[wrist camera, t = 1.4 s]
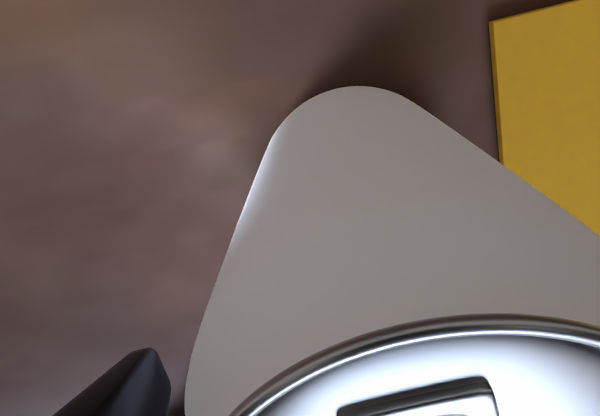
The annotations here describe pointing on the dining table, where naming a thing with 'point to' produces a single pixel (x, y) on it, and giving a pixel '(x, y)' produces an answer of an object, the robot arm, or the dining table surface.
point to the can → (397, 279)
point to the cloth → (551, 102)
